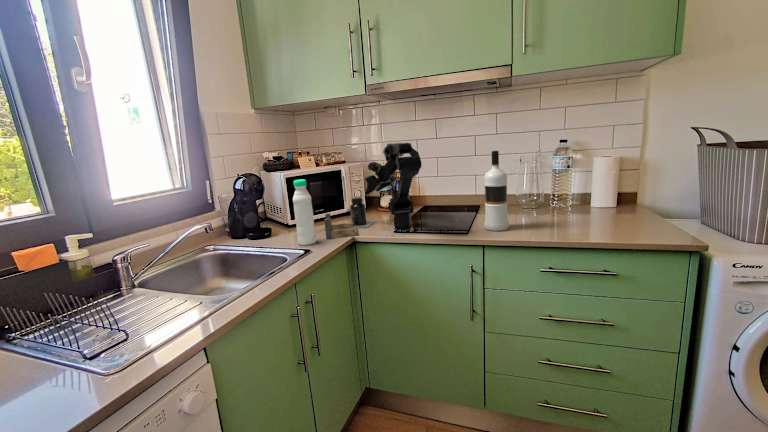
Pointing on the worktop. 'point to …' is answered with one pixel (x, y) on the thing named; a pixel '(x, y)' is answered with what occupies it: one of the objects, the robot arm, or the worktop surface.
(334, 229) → the bracket holder
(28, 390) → the worktop surface
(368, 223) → the slate mat
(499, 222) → the vodka
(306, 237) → the milk bottle
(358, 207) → the supplement bottle
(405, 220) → the robot arm
